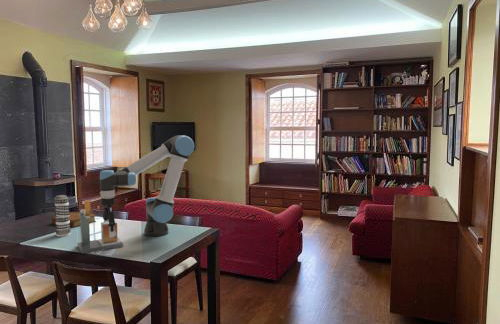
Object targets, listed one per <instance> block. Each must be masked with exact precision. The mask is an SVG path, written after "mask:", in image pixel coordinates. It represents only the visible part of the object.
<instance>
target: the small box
mask: <svg viewBox="0 0 500 324" xmlns="http://www.w3.org/2000/svg"><path fill="white" fill-rule="evenodd" d="M108 225H109V222H104V221H103V222H100V227H101V228H100V230H101V239H102V241H103V242H110V241H117V240H118V238H119V236H118V222H117V221H116V220H115V225H114V231H115V237H109V226H108Z"/></svg>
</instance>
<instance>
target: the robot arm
mask: <svg viewBox="0 0 500 324" xmlns="http://www.w3.org/2000/svg"><path fill="white" fill-rule="evenodd" d="M194 149H195V142H194V140H193V139H192V138H191V137H189V136H187V135H179V134H177V135H174V136H173V137H171V138H169V139H167V140H166V141H164V142H163V143H161V146H159V147H158V148H156V149H155V150H152V151H151V152H149V153H148V154H146V155H144V156H142V157H141V158H138V160H135V161H134V162H132V163H130V164H129V165H127V166H126V167H124V168H122V169H119V170H117V171H114V170H111V169H104V170H100V172H99V188H100V192H99V194H100V205H101V206H103V211H102V212H103V213H102V220H103V222H109V225H108V226H109V237H115V231H114V225H115V221H116V220H115V214H114V207H112V205H115V204H116V198H115V197H116V191H115V190H116V189H115V187H124V186H125V187H128V186H129V187H130V186H135V185H136V184H137V176H138V175H139V174H141V173H143V172H144V171H146V170H148V169H149V168H151V167H152V166H154V165H157V164H158V163H159V162H161V161H163V160H165V159H166V158H167V157H169V158H170V161H169V164H168V167H167V170H166V173H165V176H164V178H163V182H162V185H161V188H160V192H159V194H158V195H157V196H155V197H147V198H145V199H146V201H145V207H146V209H145V211H146V223H145V226H144V230H143V232H144V235H145V236H147V237H160V236H165V235H167V234H169V227H168V224H167V223H168V222H169V221H170V220H171V219H172V218H173V216H174V206H175V201H174V197H175V193H176V191H177V188H178V184H179V181H180V178H181V176H182V172H183V169H184V165H185V163H186V162H187V161H188V160H189V158H190V156H191V154H192V153H193V152H194V151H195V150H194Z"/></svg>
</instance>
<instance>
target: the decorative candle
mask: <svg viewBox="0 0 500 324" xmlns="http://www.w3.org/2000/svg"><path fill="white" fill-rule="evenodd" d="M69 198H70V197H69V196H67V195H65V194H60V195H56V196H55V197H54V205H53V208H54V209H53V212H54V216H55V218H56V224H54V225H55V236H57V237H66V236H71V228H72V227H70V220H69V216H70V214H69V213H70V212H71V211H70V207H71V206H70V205H69V203H70V202H69Z"/></svg>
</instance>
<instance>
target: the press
mask: <svg viewBox="0 0 500 324" xmlns="http://www.w3.org/2000/svg"><path fill="white" fill-rule="evenodd" d="M79 218H80V226H79V227H80V241H79V242H76V245H77V248H78V251H79V252H80V253H81V254H86V252H88V253H92V252H91V251H94V252H98V251H97V250H100V251H103V250H102V249H106V250H110V249H109V248H112V249H117V248H116V247H118V248H123V247H124V242H123V241H122V240H121V239H120V238H119V237H118V240H117V241H110V242H103V241H102V238H100V239H99V238H98V239H93V240H90V239H91V238H90V236H91V235H90V234H91V233H90V224H89V218H86V217H85V216H84V215H83V214H80V213H79ZM122 246H123V247H122Z"/></svg>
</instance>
